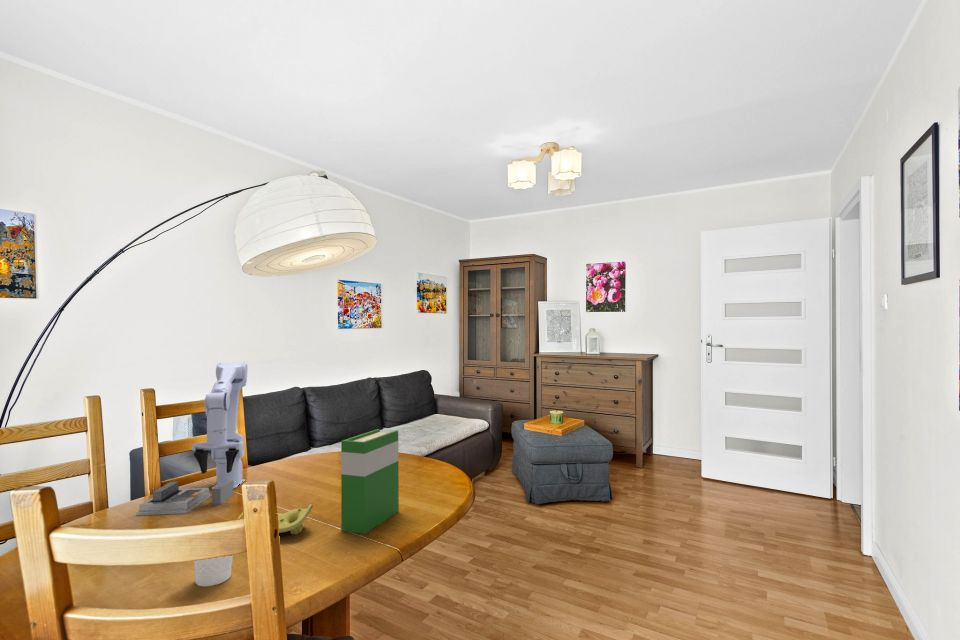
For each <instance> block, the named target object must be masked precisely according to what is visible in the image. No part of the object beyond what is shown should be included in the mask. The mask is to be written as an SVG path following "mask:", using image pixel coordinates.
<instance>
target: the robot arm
mask: <svg viewBox="0 0 960 640" xmlns="http://www.w3.org/2000/svg"><path fill="white" fill-rule="evenodd" d="M215 377H216V380H217V381H215V383H213V386H212V389H211V390H210V392H209V393H208V394H205V398H204V410H205V417H206V442H200V443H199V442H198V443H193V444H191V451H192V452H193V456H194V458H195V459H196V461H197V463H198V465H199V467H200V471H201V472H200V473H201V474H202V475H204V474H206V473H207V472H208V458H209V451H210V453H211V455H210V456H211V459H212V461H215V464H216V478H215V479H216V482H215V483H216V484H215V485H213V486H212V487H211V490H212V489H213V488H215V487H216V486H218V485H219V484H221V483H222V482H224V481H225V480H234V481H233V489H236V488H238V487H239V486H240V485H241V484H243V483H244V482H246V479H244V478H243V462H242V458H243V457H244V454H245V437H244V436H243V435H241V434H240V433H238V432H237V429H238V415H239V406H240V405H239V402H240V393H241V390H242V388H244V387H246V386H247V382H248V364H247V363H246V361H245V362H218V363H217V364H216V368H215ZM242 481H243V482H242ZM239 484H240V485H239ZM238 485H239V486H238Z"/></svg>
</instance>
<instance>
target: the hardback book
mask: <svg viewBox="0 0 960 640" xmlns="http://www.w3.org/2000/svg"><path fill="white" fill-rule="evenodd" d="M380 430H381V429H380V428H378V429H377V428H376V429H374V430H371V431H368V432H364V433H362V434H358V435H354V436H353V437H348V438H347V439H346V438H345V439H342V440H340V441H341V442H340V443H341V445H340V446H341V447H340V448H341V449H340V450H341V454H340V457H341V461H340V462H341V463H340V464H341V467H340V468H341V470H340V473H341V476H340V477H341V478H340V479H341V481H340V484H341V486H340V487H341V489H340V490H341V492H340V495H341V502H340V504H341V505H340V506H341V512H340V515H341V519H340V520H341V532H342V531H344V532H350V533H357V534H364V535H365V534H367V533H369V532H370V531H371V530H373V529H374V528H376V527H378V526H379V525H381V524H382V523H384V522H386V521H387V520H388V519H390V518H391V517H393V516H395V515H396V514H397V513H398V512H400V511H399V510H400V509H399V506H400V505H399V502H400V501H399V497H400V495H399V490H400V487H399V430H393V431H390V432H387V431H385V432H384V431H380ZM396 512H397V513H396Z"/></svg>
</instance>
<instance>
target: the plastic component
mask: <svg viewBox="0 0 960 640" xmlns="http://www.w3.org/2000/svg"><path fill="white" fill-rule="evenodd" d="M313 506H314V505H313V504H309V505H308V507H307V508H301V507H299V508H295V509H294V508H293V509H290V510H288V511H287V512H285V513H277V514H278V520H279V533H278V534H280V533H286V532H290V534H291V535H298V534H299V533H301V532H302V530H303V529H304V526H303V523H304V521H306V518H307V517H308V516H309V514H310V512H311V511H312V510H313ZM242 518H243V511H242V513H240V515H239V516H238V518H237V519H242Z"/></svg>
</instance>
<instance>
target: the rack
mask: <svg viewBox="0 0 960 640" xmlns="http://www.w3.org/2000/svg"><path fill="white" fill-rule="evenodd" d="M179 486H180V485H179V481H170V482H168V483H166V484H164V485H163V486H161V487H158V488H157V489H155V490H153V491H152V497H150V498H149V499H146V500H145V501H143V502H141V503H139V506H138V507H139V510H138V511H137V512H136V516H137V517H138V516H139V517H141V516H156V515H157V516H159V515H181V514H182V515H183V514H189V512H191V511H192V510H194V509H195V508H197V507H198V506H199V505H200V504H202V503H203V502H205V501H206V500H208V499H209V498H210V497H211V496H212V492H210V487H198V488H195V487H192V488H179Z"/></svg>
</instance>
